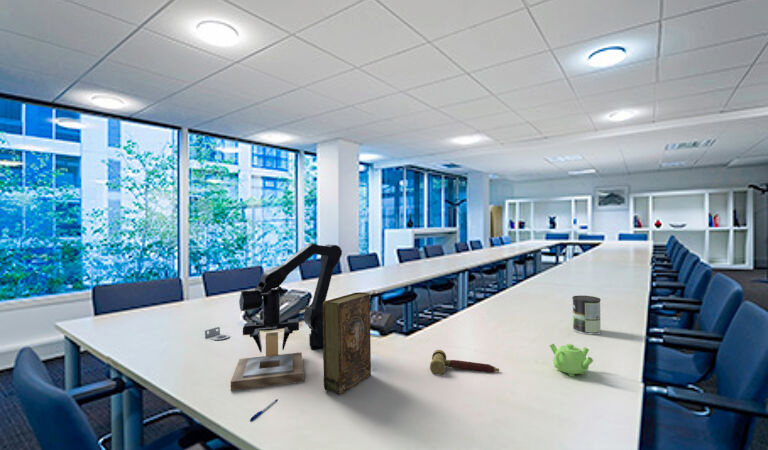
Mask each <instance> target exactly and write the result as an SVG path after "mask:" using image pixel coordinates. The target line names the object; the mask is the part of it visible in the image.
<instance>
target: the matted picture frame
mask: <svg viewBox="0 0 768 450" xmlns="http://www.w3.org/2000/svg"><path fill="white" fill-rule="evenodd" d="M302 353H303V352H293V353H284V354H278V355H272V356H266V355H264V356H254V357H244V358H239V359H238V362H237V365H236V367H235V369H234V371H233V375H232V377H231V380H230V392H231V391H238V390H249V389H254V388H255V389H256V388H262V387H273V386H280V385H285V384H296V383H303V382H305V379H304V364H303V355H302ZM295 382H296V383H295Z"/></svg>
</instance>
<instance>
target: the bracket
mask: <svg viewBox="0 0 768 450" xmlns="http://www.w3.org/2000/svg"><path fill="white" fill-rule="evenodd" d="M220 329H221V328H220V326H217V327H214V328H209V329H205V330H204V338H205V339H209V340H211V341H212V340H213V341H220V340H226V339H229V338H230V337H231V335H228V334H221V330H220Z"/></svg>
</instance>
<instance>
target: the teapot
mask: <svg viewBox="0 0 768 450" xmlns="http://www.w3.org/2000/svg"><path fill="white" fill-rule="evenodd" d="M549 347H550V349H551V351H552V353H553V354H554V356H553V359H552V362H553V366H554V368H556V369H557V372H560V373H562V372H563V373H567V374H568V377H570V378H575V376H576V375H585V372H587V371H588V370H589V366H590V365H591V364H592V363H593V362H594V359H593V357H590V356H588V357H587V355H588V353H589V351H590V349H589V348H588V347H584V346H583V348H582V349H580V348H579V347H577V346H574V344H572V343H567V344H566V345H561V346H559V347H558V348H557V346H556V345H555V343H552V344H549Z"/></svg>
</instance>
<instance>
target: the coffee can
mask: <svg viewBox="0 0 768 450" xmlns="http://www.w3.org/2000/svg"><path fill="white" fill-rule="evenodd" d="M572 327H573V328H572V330H573V331H574V332H575V333H578V334H582V335H586V336H587V335H591V336H595V335H597V336H598V335H601V333H602V332H601V331H602V330H601V298H600V297H597V296H593V295H573V296H572Z"/></svg>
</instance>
